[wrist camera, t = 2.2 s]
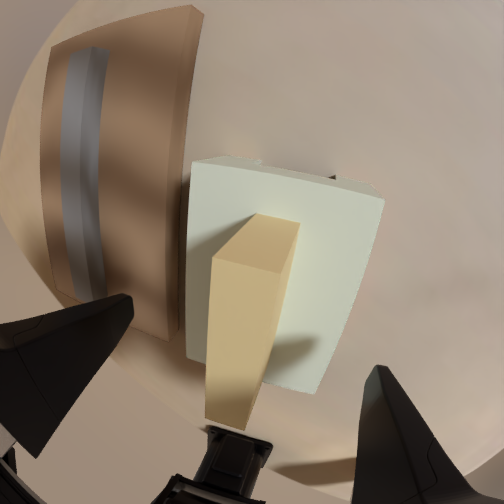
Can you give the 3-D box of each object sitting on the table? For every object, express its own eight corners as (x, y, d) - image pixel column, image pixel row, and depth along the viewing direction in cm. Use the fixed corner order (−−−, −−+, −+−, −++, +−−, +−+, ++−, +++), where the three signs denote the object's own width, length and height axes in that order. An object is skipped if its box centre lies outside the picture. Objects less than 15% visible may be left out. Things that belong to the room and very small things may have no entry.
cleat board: (178, 329, 19) (157, 356, 16) (67, 282, 21) (45, 297, 18) (204, 14, 10) (176, -7, 8) (65, 48, 13) (36, 45, 10)
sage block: (320, 345, 16) (301, 460, 9) (213, 317, 18) (150, 410, 10) (369, 182, 12) (419, 239, 5) (228, 155, 13) (120, 178, 6)
